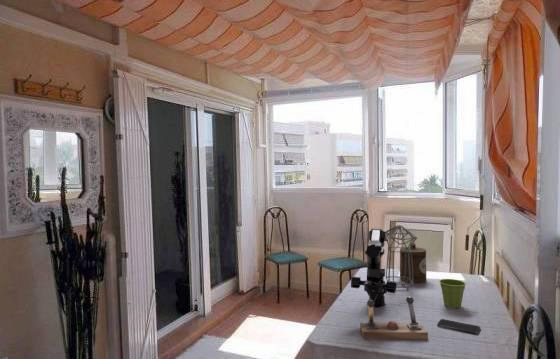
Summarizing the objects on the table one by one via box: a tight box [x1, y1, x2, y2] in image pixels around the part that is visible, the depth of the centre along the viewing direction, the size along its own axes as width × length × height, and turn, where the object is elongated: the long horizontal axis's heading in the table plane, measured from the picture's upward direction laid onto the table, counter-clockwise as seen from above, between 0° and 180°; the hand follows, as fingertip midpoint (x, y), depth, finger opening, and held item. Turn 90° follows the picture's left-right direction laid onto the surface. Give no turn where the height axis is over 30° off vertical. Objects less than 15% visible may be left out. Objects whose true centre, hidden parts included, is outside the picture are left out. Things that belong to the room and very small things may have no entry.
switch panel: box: [359, 320, 429, 340], centre depth 146 cm, size 9×24×4 cm, turn 86°
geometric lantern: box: [385, 224, 418, 292], centre depth 203 cm, size 16×16×35 cm
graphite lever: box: [405, 296, 419, 325], centre depth 147 cm, size 3×3×11 cm
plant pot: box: [438, 278, 467, 309], centre depth 176 cm, size 12×12×11 cm
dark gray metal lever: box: [366, 299, 376, 325], centre depth 146 cm, size 3×3×11 cm
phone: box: [436, 318, 481, 336], centre depth 151 cm, size 8×1×15 cm
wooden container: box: [399, 242, 427, 284], centre depth 221 cm, size 15×15×22 cm
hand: (372, 303), depth 154 cm, fingers closed
